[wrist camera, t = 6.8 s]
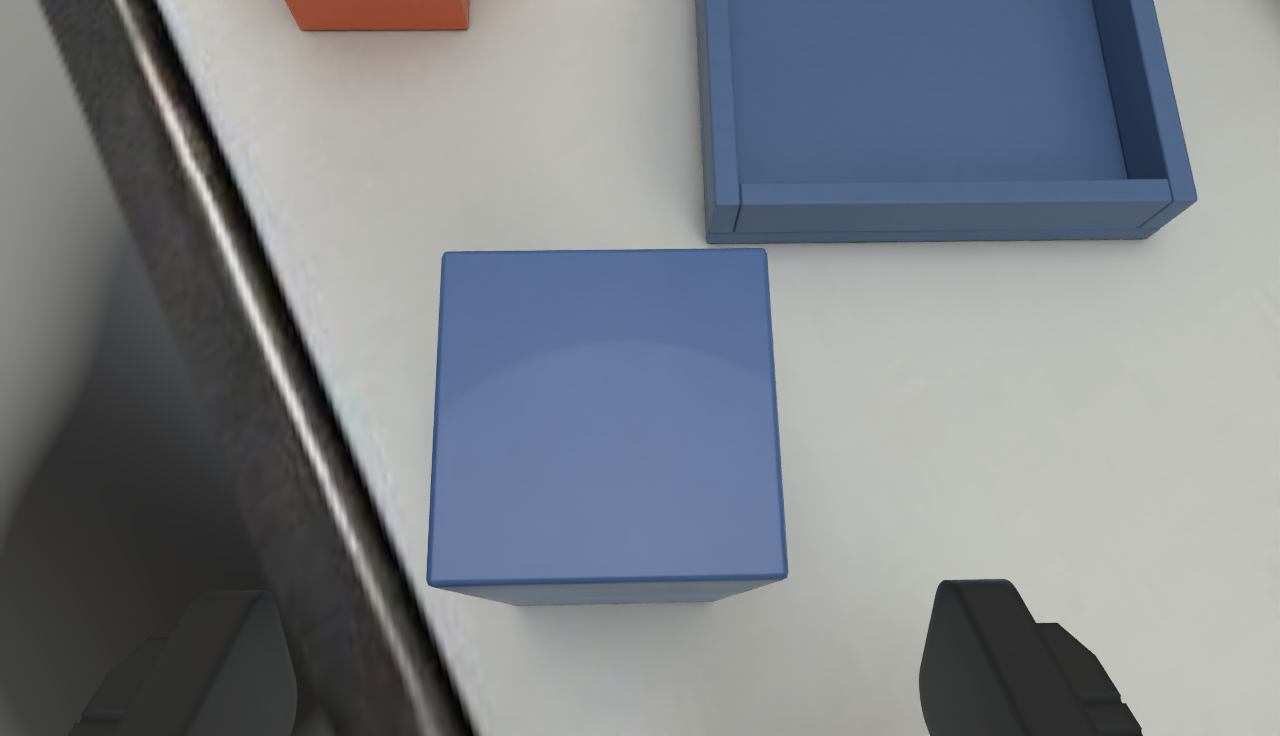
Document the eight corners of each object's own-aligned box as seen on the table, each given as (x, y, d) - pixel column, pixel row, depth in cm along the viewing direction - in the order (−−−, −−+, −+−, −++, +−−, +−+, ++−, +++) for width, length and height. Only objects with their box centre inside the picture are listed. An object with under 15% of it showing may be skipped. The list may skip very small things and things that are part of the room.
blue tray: (706, 244, 22) (714, 205, 20) (689, -115, 25) (695, -179, 23) (1147, 239, 22) (1199, 200, 20) (1075, -115, 25) (1114, -179, 23)
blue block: (512, 606, 19) (424, 586, 11) (516, 407, 21) (440, 249, 12) (715, 601, 19) (790, 579, 11) (707, 405, 21) (767, 245, 12)
